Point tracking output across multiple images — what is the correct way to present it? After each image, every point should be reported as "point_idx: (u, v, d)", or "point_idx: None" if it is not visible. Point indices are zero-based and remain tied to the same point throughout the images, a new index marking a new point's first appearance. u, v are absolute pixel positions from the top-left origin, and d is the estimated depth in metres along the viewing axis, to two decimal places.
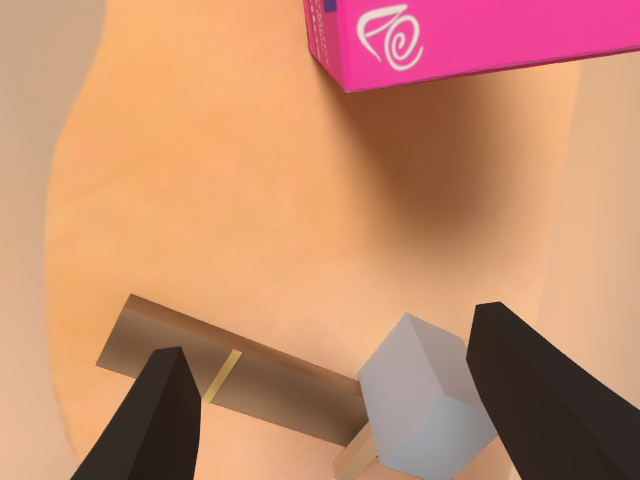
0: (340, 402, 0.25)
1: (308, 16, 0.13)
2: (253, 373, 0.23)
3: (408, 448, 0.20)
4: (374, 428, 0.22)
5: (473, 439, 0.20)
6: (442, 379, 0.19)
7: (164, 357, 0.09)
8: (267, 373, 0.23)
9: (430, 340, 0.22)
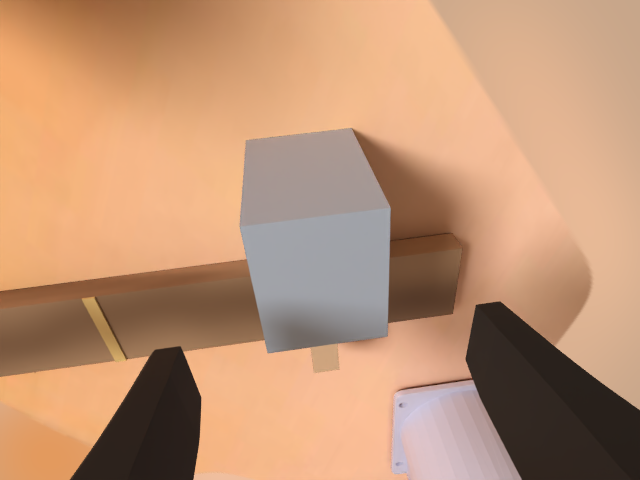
0: None
1: None
2: (132, 310, 0.18)
3: (280, 318, 0.13)
4: None
5: (360, 262, 0.12)
6: (254, 204, 0.12)
7: (163, 357, 0.09)
8: (145, 302, 0.18)
9: (270, 158, 0.14)
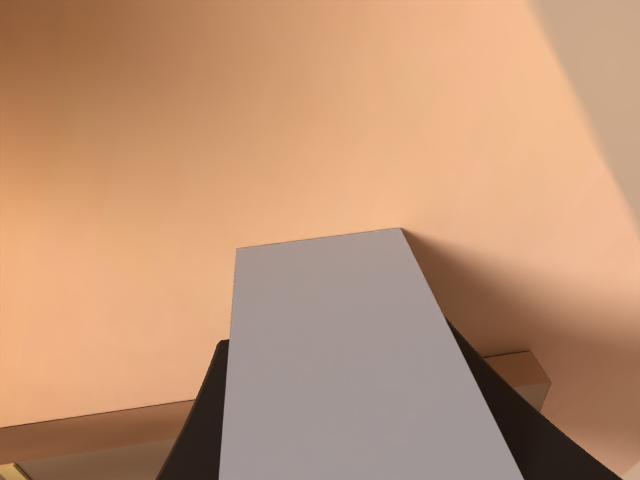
0: None
1: None
2: (72, 474, 0.13)
3: None
4: None
5: None
6: (247, 443, 0.06)
7: None
8: (91, 465, 0.13)
9: (276, 300, 0.09)
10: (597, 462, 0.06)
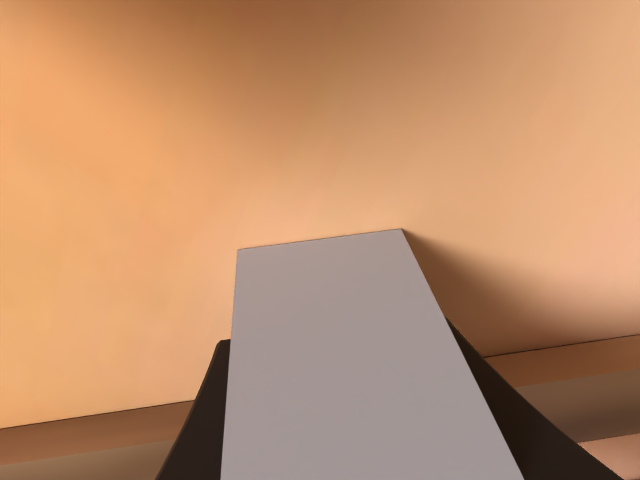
0: None
1: None
2: None
3: None
4: None
5: None
6: (248, 443, 0.06)
7: None
8: None
9: (277, 302, 0.09)
10: (598, 462, 0.06)
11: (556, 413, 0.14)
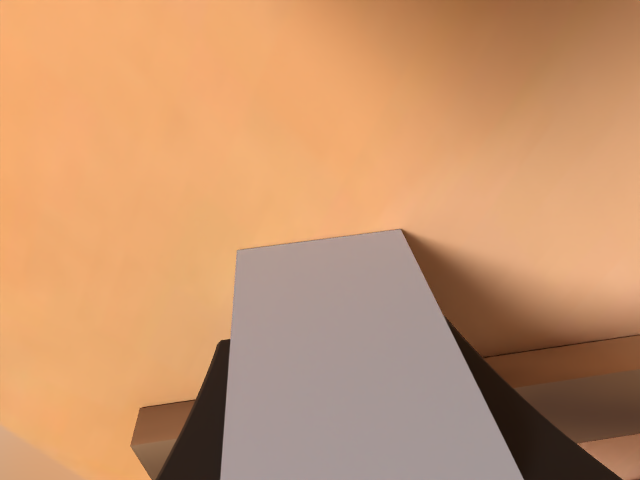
0: (557, 397, 0.13)
1: None
2: None
3: None
4: None
5: None
6: (248, 445, 0.06)
7: None
8: None
9: (277, 302, 0.09)
10: (597, 462, 0.06)
11: None
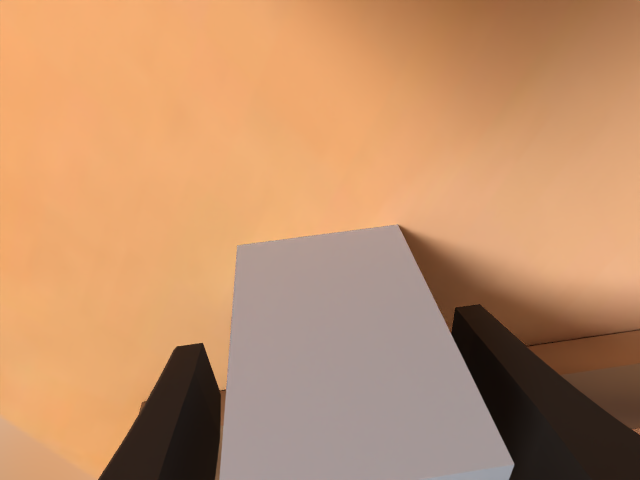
0: None
1: None
2: None
3: None
4: None
5: None
6: (248, 429, 0.06)
7: (186, 354, 0.09)
8: None
9: (276, 294, 0.09)
10: None
11: None
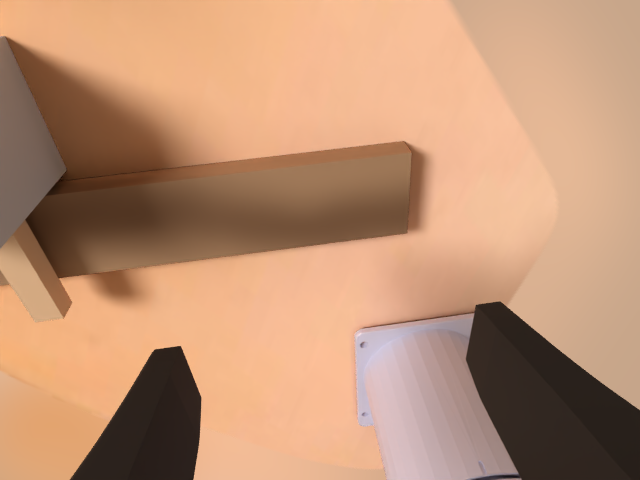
0: (193, 198, 0.17)
1: None
2: (57, 218, 0.17)
3: None
4: None
5: None
6: None
7: (164, 357, 0.09)
8: (70, 209, 0.17)
9: None
10: None
11: (309, 204, 0.18)
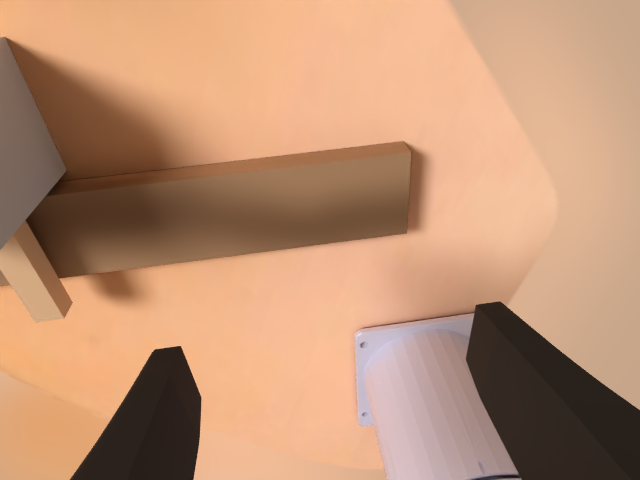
0: (192, 198, 0.17)
1: None
2: (57, 219, 0.17)
3: None
4: None
5: None
6: None
7: (164, 357, 0.09)
8: (70, 209, 0.17)
9: None
10: None
11: (309, 204, 0.18)
